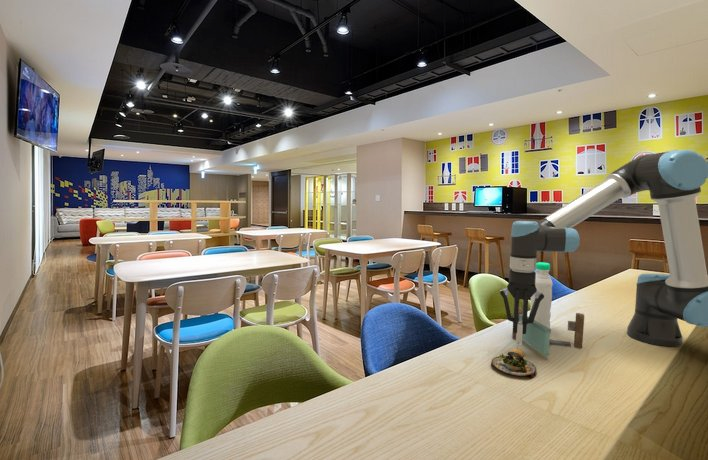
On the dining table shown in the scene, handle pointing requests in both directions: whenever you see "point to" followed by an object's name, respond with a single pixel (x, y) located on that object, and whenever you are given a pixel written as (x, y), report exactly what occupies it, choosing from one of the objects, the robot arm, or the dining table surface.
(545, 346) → the gate
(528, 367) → the burger
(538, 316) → the water bottle
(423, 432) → the dining table surface
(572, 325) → the gate frame
